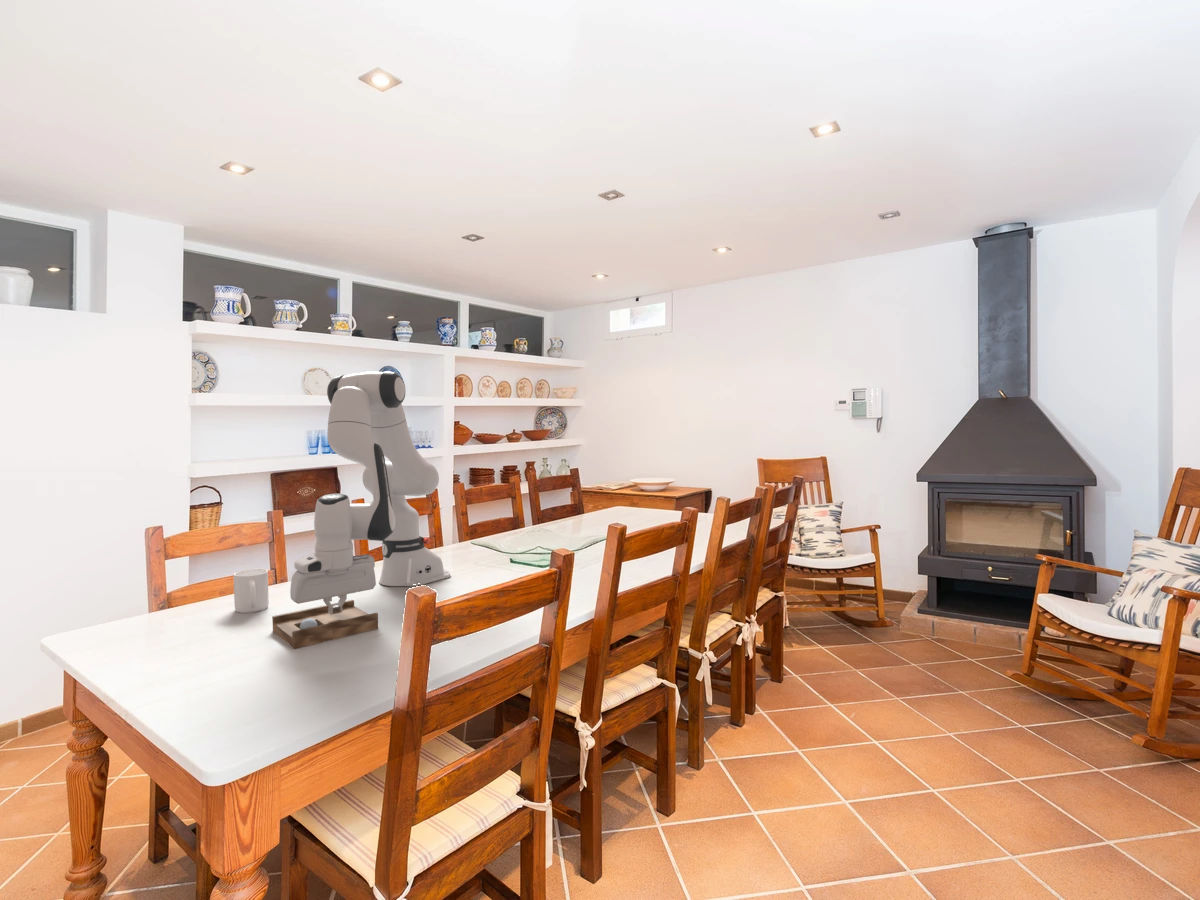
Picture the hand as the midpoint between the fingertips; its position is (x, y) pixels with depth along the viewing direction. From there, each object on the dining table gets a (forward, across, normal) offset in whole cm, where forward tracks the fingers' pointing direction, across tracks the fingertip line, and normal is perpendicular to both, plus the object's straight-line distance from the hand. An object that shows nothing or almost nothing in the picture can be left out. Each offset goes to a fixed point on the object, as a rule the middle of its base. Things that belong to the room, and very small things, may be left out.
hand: (335, 613), depth 156 cm
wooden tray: (+4, +2, 0) cm, 4 cm away
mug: (+4, +11, -30) cm, 32 cm away
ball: (+3, +8, 0) cm, 9 cm away
